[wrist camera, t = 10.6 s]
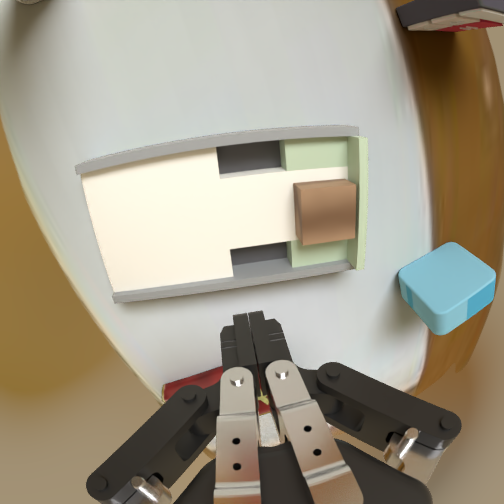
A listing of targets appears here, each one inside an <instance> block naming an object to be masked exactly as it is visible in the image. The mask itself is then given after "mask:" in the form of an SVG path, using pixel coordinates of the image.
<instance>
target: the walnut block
mask: <svg viewBox="0 0 504 504" xmlns="http://www.w3.org/2000/svg"><path fill="white" fill-rule="evenodd" d="M293 190H294V209H295V230H296V236H297V238H298V239H299V241H300V242H301V244H302V245H303V246H304V245H311V244H318V243H325V242H332V241H339V240H346V239H353V238H355V223H356V184H354V183H352V182H350V181H348V180H346V179H333V180H321V181H309V182H299V183H293Z"/></svg>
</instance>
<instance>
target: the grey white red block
mask: <svg viewBox="0 0 504 504" xmlns="http://www.w3.org/2000/svg"><path fill="white" fill-rule="evenodd" d="M396 10H397V13H398V15H399V18H400V21H401V23H402V26H403V27H408V30H427V31H433V30H436V31H450V32H458V31H465V30H471V29H478V28H486V27H495V26H503V25H502V23H503V24H504V0H414V1H412V2H409V3H407V4H404V5H402V6H400V7H397V8H396Z"/></svg>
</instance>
